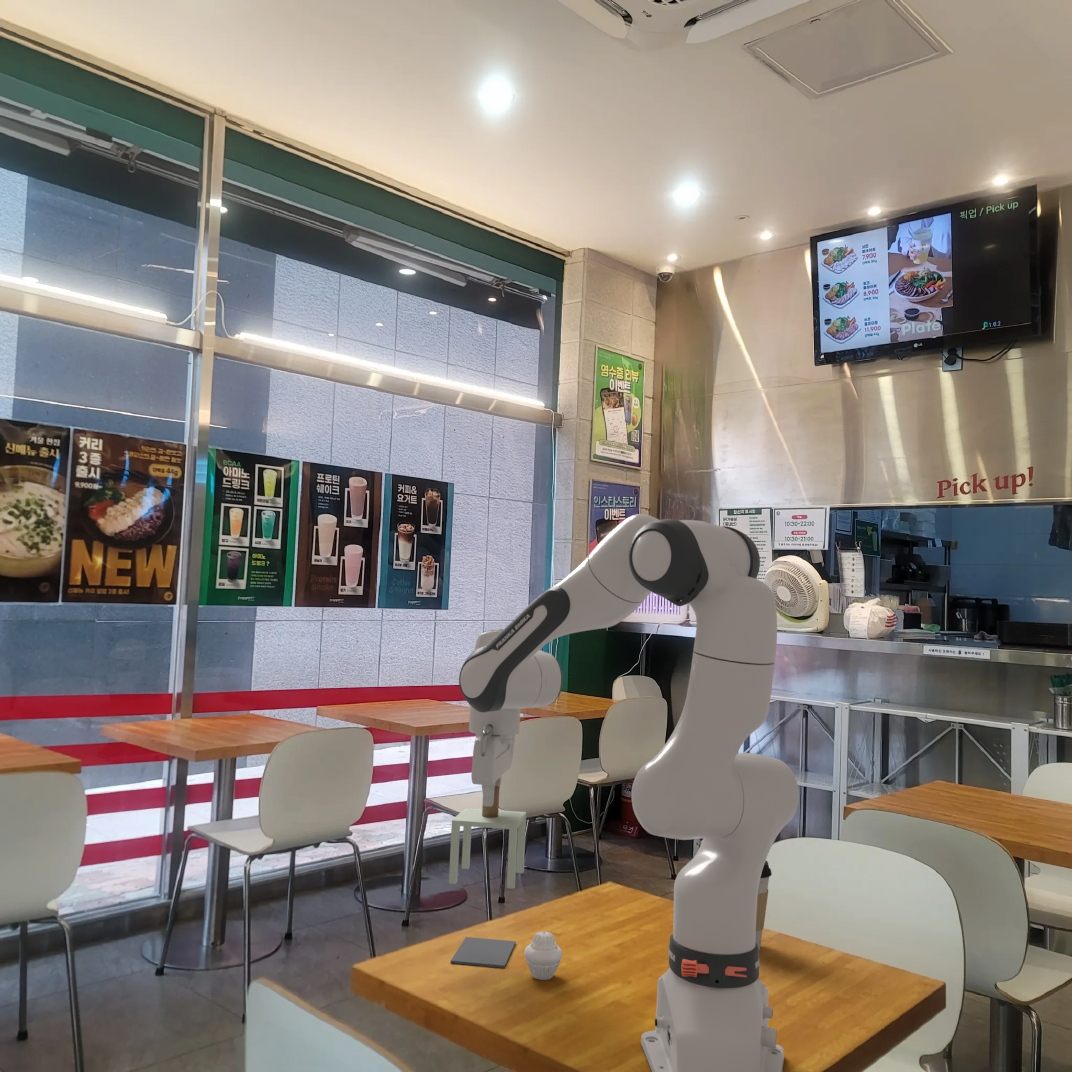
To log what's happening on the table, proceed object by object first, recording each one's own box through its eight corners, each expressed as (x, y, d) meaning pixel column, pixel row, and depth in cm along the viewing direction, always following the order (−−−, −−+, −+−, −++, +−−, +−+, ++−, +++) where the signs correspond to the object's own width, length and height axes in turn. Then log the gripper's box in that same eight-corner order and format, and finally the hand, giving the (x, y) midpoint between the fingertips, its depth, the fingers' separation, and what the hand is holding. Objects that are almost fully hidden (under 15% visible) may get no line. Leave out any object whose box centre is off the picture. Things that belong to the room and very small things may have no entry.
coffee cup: (722, 933, 172) (724, 851, 173) (775, 943, 168) (776, 858, 169) (708, 948, 163) (710, 862, 165) (764, 959, 159) (765, 870, 160)
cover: (513, 888, 152) (517, 794, 153) (448, 883, 153) (453, 789, 155) (523, 871, 162) (527, 783, 164) (462, 866, 164) (467, 779, 165)
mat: (504, 968, 150) (504, 965, 150) (450, 963, 151) (450, 960, 151) (515, 943, 162) (515, 941, 162) (465, 939, 163) (465, 936, 163)
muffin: (554, 967, 151) (555, 923, 152) (567, 981, 145) (568, 936, 146) (518, 970, 149) (520, 926, 150) (530, 985, 143) (532, 938, 144)
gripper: (502, 729, 150) (498, 816, 148) (520, 718, 170) (517, 794, 169) (464, 727, 151) (460, 813, 149) (487, 716, 171) (483, 792, 169)
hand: (490, 803), depth 159 cm, fingers closed on cover, 3 cm apart
